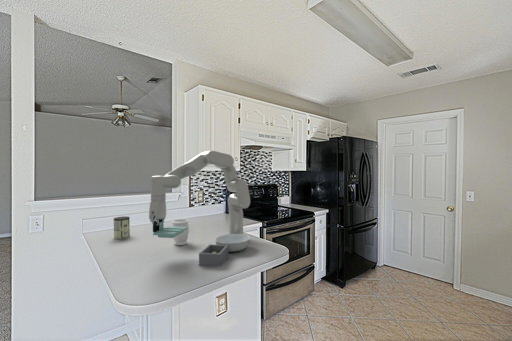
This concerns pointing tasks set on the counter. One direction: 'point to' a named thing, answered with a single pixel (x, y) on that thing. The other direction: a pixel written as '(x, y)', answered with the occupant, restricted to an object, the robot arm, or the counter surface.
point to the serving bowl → (233, 241)
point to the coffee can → (121, 227)
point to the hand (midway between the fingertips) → (158, 231)
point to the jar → (182, 237)
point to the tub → (213, 255)
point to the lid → (169, 231)
